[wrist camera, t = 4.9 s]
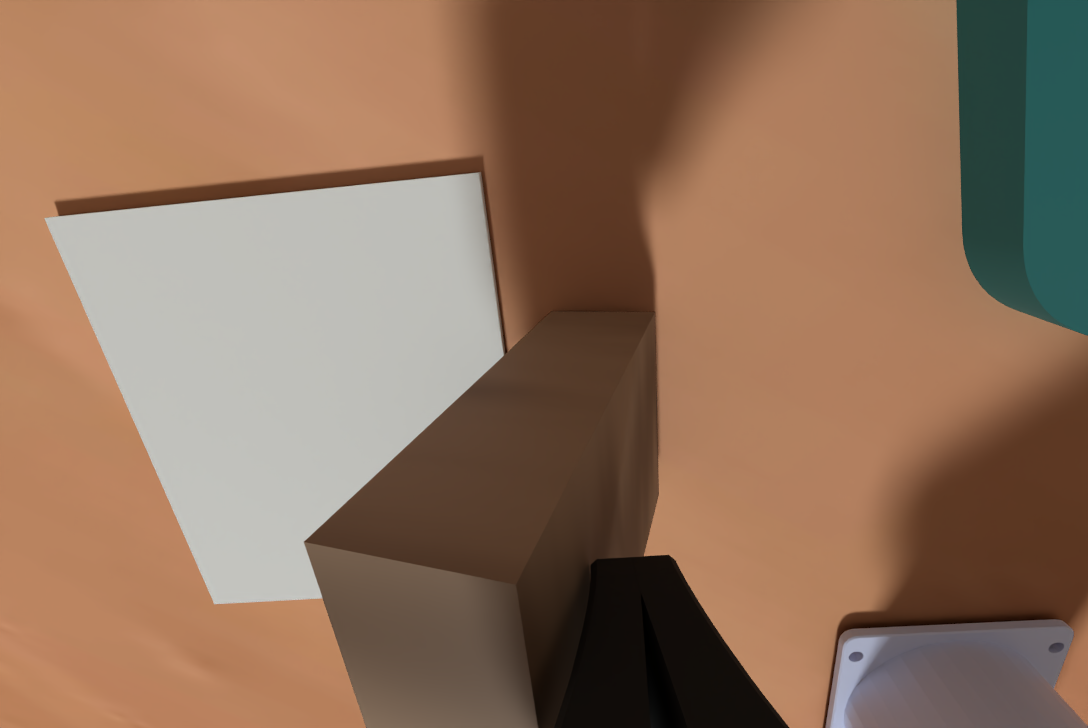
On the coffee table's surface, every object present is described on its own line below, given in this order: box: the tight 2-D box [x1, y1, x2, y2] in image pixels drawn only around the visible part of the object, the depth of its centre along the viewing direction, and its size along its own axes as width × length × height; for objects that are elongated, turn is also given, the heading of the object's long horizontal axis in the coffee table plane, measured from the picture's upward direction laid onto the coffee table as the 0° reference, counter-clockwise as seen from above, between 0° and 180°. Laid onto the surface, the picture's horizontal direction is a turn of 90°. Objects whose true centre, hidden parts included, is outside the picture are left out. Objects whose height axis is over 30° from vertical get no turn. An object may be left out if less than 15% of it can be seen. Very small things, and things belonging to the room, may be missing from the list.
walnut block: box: [304, 311, 659, 728], centre depth 12 cm, size 6×3×10 cm, turn 6°
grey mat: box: [45, 172, 505, 604], centre depth 17 cm, size 14×12×1 cm
